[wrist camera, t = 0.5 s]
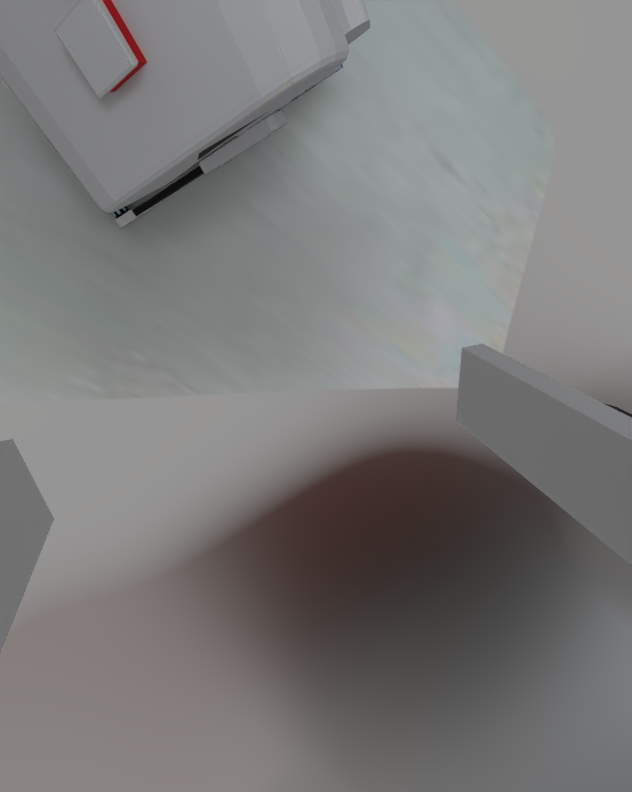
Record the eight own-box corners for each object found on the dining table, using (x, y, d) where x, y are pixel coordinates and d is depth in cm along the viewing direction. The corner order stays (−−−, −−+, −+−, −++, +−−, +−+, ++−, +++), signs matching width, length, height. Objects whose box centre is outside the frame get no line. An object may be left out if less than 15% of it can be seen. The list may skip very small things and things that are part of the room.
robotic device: (105, 65, 33) (-166, 93, 19) (334, -163, 23) (120, -490, 8) (184, 191, 38) (20, 288, 24) (399, 53, 28) (337, 80, 14)
